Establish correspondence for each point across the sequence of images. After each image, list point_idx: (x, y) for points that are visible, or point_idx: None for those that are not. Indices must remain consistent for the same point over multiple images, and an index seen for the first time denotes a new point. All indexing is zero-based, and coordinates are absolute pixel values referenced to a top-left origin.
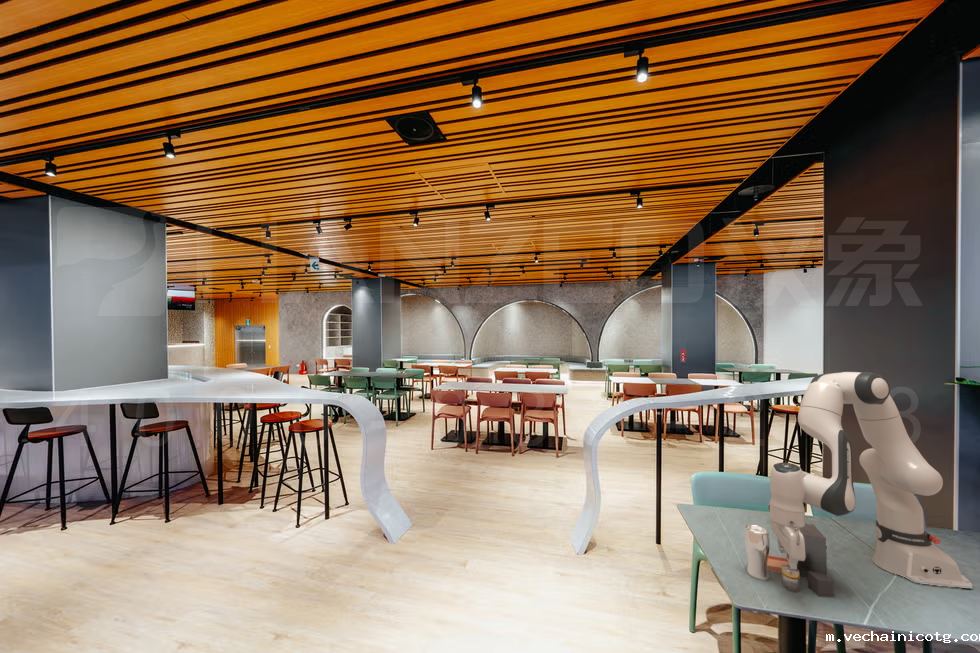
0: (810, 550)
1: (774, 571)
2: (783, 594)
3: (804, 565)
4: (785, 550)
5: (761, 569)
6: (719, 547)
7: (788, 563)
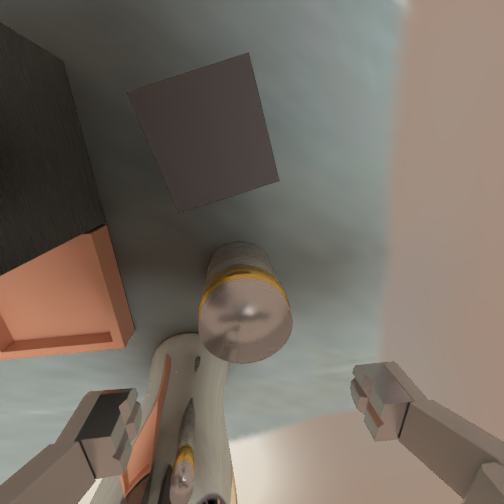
0: None
1: (126, 309)
2: (302, 304)
3: (45, 196)
4: (123, 419)
5: (222, 389)
6: (39, 452)
7: (364, 412)
